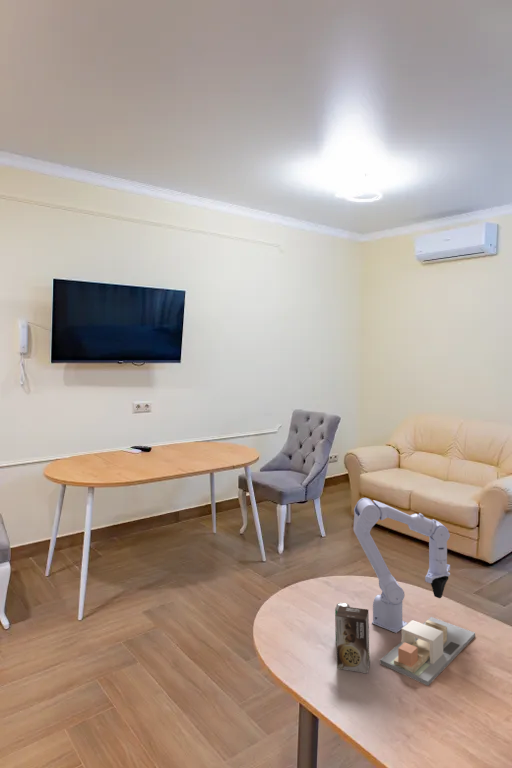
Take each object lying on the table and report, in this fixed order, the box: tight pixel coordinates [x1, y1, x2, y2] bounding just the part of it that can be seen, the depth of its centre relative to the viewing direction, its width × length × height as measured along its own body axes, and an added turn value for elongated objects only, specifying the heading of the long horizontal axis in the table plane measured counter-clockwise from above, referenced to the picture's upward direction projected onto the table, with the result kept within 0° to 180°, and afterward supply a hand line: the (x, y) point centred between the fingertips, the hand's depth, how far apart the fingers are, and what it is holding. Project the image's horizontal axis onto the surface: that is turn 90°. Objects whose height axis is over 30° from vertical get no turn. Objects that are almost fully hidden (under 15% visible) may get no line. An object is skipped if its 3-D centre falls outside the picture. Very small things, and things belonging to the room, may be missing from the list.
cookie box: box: [335, 606, 371, 674], centre depth 147 cm, size 9×6×16 cm
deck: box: [379, 616, 476, 686], centre depth 155 cm, size 15×34×1 cm, turn 135°
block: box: [398, 643, 418, 667], centre depth 144 cm, size 4×4×4 cm
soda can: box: [334, 602, 351, 643], centre depth 159 cm, size 5×5×12 cm
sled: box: [394, 619, 447, 673], centre depth 150 cm, size 6×22×5 cm, turn 135°
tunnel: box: [401, 619, 443, 664], centre depth 151 cm, size 10×7×7 cm
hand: (438, 596), depth 169 cm, fingers closed
